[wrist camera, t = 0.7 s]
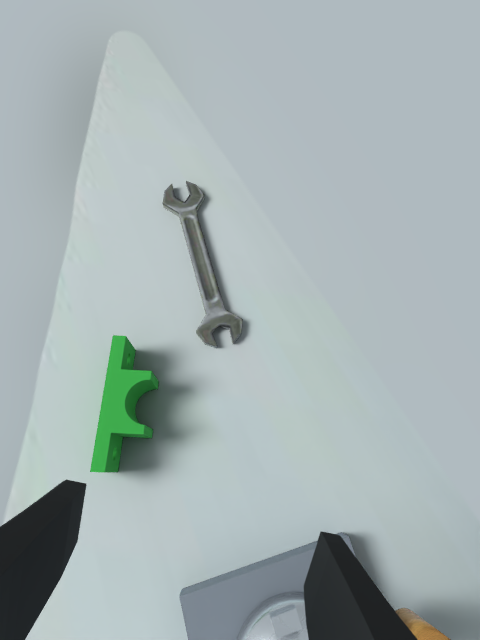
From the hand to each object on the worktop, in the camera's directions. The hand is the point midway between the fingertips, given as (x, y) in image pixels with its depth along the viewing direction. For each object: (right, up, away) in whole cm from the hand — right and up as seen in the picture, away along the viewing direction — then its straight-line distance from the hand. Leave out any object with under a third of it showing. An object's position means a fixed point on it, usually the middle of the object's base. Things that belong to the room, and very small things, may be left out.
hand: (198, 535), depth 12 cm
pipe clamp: (-9, -2, +25) cm, 27 cm away
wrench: (-3, +13, +31) cm, 34 cm away
